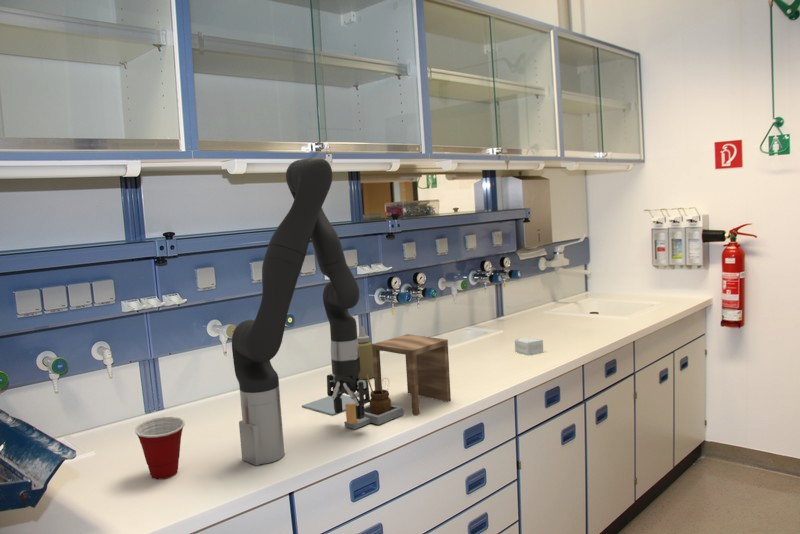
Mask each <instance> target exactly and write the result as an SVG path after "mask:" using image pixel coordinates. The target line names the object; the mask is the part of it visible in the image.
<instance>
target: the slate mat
mask: <svg viewBox="0 0 800 534" xmlns="http://www.w3.org/2000/svg"><path fill="white" fill-rule="evenodd" d="M340 398H342V409H343V411H342V412H340V413H335V410H334V400H333V399H332V397H331V396H328V395H327V396H326V397H322V398H320V399H317V400H314V401H311V402H308V403H305V404H302V405H301V407H302V408H304V409H307V410H311V411H315V412H318V413H320V414H325V415H327V416H332V417H333V416H335V415H338V414H341V413H344V412H346V406H345V404H348V403H355V402H354V400H353V399H351V398H350V396H349V395H345V394H342V396H341V397H340ZM358 400H360V399H359V398H358Z"/></svg>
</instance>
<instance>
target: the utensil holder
mask: <svg viewBox="0 0 800 534" xmlns="http://www.w3.org/2000/svg"><path fill="white" fill-rule="evenodd" d="M384 379H385V377H382V378H381V380H382V382H381V383H382V385H383V381H384ZM366 380H367V381H368V386H369V389H370V391H371V392H370V393H369V396H370V402H369V405H370V413H371V414H375V415H380V414H383V413H385V412H388V411H390V410H391V405H392V401H391V397H390V392H389V390H388V389H384V388H382V390H375V389H374V390H373V388H372V384H371V381H370V379H369V378H368V375H367V379H366ZM386 380H387V382H388V386H390V379H388V378H387V377H386ZM385 385H386V381H385Z"/></svg>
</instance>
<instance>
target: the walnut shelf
mask: <svg viewBox="0 0 800 534" xmlns="http://www.w3.org/2000/svg"><path fill="white" fill-rule="evenodd" d="M381 351H382V352H387V353H393V354H399V355H405V368H406V370H405V371H406V385H407V386H406V387H407V394H409V393H410V394H409V395H410V401H411V402H410V403H411V415H412V414H413V416H418V414H419V415H420V414H421V411H420V397H422V396H423V397H424V398H428V399H431V398H433V400H436V399H437V400H436V401H440V400H442V402H445V401H447V402H446V403H449V402H451V400H452V399H451V394H452V393H451V380H450V379H451V378H450V377H451V376H450V359H449V358H450V357H449V341H448V339H446V338H441V337H440V338H438V337H433V336H432V337H431V336H423V335H415V334H410V333H409V334H403V335H400V336H396V337H393V338H390V339H386V340H381V341H379V342H375V343H372V353H373V368H374V377H373V382H374V390H382V389H383V384H382V383H383V380H382V370H381V369H382V368H381V367H382V366H381ZM381 382H382V383H381ZM423 397H422V398H423ZM448 401H449V402H448Z"/></svg>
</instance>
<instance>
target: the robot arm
mask: <svg viewBox="0 0 800 534" xmlns="http://www.w3.org/2000/svg"><path fill="white" fill-rule="evenodd" d="M333 176H334V174H333V169H332V167H331V165H330V162H328V160H326V159H324V158H323V157H318V156H317V157H316V156H314V157H313V156H312V157H308V158H303V159H302V158H301V159H296V160H295V161H293V162H291V163H290V164H289V165H288V167H287V169H286V170H285V181H286V184H287V187H288V189H289V191H290V194H291V196H292V197H293V202H292V204H291V207H290V208H289V210H288V212H287V214H286V215H285V216H284V218H283V219H282V221H281V222H280V224H279V225H278V226H277V228H276V229H275V231H274V232H273V233H272V236H271V238H270V240H269V242H268V246H267V248H266V252H265V254H264V258H263V262H262V267H261V273H262V274H261V282H262V283H261V285H262V292H261V293H262V295H261V299H260V300H261V301H260V305H259V307H258V311H257V314H256V316H255V318H254V319H247V320H243V321H241V322H240V323H239V324H237V326H235V329H234V330H233V331H232V336H231V350H232V352H231V353H232V359H233V360H232V362H233V368H234V374H235V377H236V380H237V382H238V385H239V395H240V396H239V397H240V408H241V420H240V421H239V422H238V427H239V437H240V438H239V439H240V451H241V459H242V461H245V462H247V463H248V464H249V463H250V464H251V465H254V466H259V465H262V464H270V463H274V462H276V461H279V460H280V459H282V458H283V457H284V456H285V444H284V442H285V441H284V431H283V429H284V428H283V417H282V406H281V394H280V391H281V390H280V380H279V374H278V372H277V371H276V370H275V369H274V367H273V365H272V363H271V360H273V358H274V357H275V356H276V355H277V354H278V353H279V351H280V348H281V346H282V342H283V338H284V334H285V328H286V323H287V318H288V315H289V314H288V313H289V309H290V306H291V302H292V299H293V296H294V292H295V289H296V287H297V282H298V279H299V276H300V274H301V271H302V269H303V266H304V265H303V264H304V261H305V258H306V256H307V251H308V248H309V245H310V242H311V243H312V247H313V249H314V253H315V257H316V261H317V265H318V268H319V271H320V272H321V274H322V275H323V276H325V277H327V278H328V279H329V282H327V283H326V285H325V286H324V288H323V292H322V302H323V306H324V311H325V314H326V318H327V321H328V324H329V330H330V331H329V333H330V357H331V358H330V359H331V363H330V364H331V373H329V374H328V375H326V387H327V390H326V391H327V392H326V393H327V397H328V396H331V397H332V399H333V400H334V410H335V413H339V414H341V413H343V412H342V411H343V409H342V398H340V397H341V396H342V395H345V394H346V396H349V397H350V398H351V399H353V400H354V402H355V404H356V406H355V407H356V419H362V418H364V415H365V412H364V407H365V405H366V404H370V399H371V397H370V386H369V383H368V379H363V380H362V379H359V377H358V375H359V373H360V371H361V369H360V355H359V344H358V339H357V336H358V328H357V327H358V326H357V320H356V318H355V317H353V316H352V315H351V313H350V312H349V309H352V308H355V306H356V305H357V304H358V303H359V300H360V288H359V285H358V282H357V280H356V279H355V277H354V275H353V272H352V271H351V268H350V266H349V265H348V264H347V261H346V257H345V254H344V250H343V246H342V243H341V239H340V238H339V235H338V233H337V232H336V230H335V228H334V227H333V225H332V224H331V222H330V220H329V219H328V217H327V216H326V214H325V211H324V209H323V204H324V203H325V201H326V199H327V196H328V194H329V191H330V189H331V186H332V183H333ZM358 399H360V400H358ZM340 412H341V413H340Z"/></svg>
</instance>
